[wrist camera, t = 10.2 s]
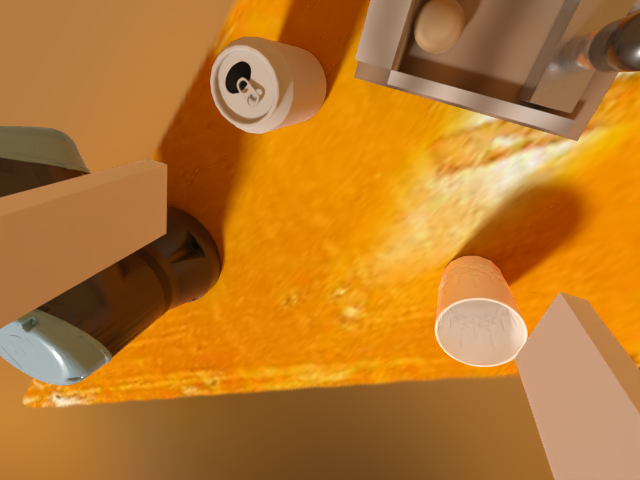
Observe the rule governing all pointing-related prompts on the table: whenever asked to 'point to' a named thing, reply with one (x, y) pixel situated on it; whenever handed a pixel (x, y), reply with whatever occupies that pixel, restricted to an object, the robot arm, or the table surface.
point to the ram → (583, 51)
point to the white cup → (478, 314)
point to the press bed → (475, 60)
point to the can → (266, 84)
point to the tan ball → (439, 25)
